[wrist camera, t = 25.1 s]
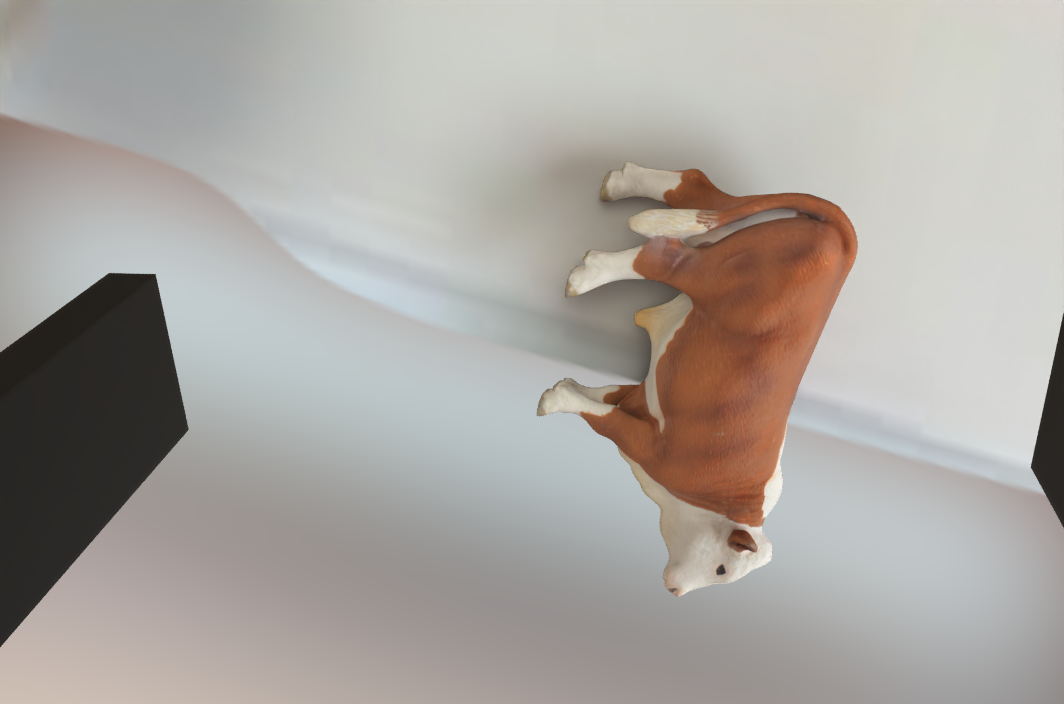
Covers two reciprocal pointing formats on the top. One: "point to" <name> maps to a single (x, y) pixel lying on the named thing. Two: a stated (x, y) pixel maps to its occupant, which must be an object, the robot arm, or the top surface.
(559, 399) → the bull figurine
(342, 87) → the top surface
